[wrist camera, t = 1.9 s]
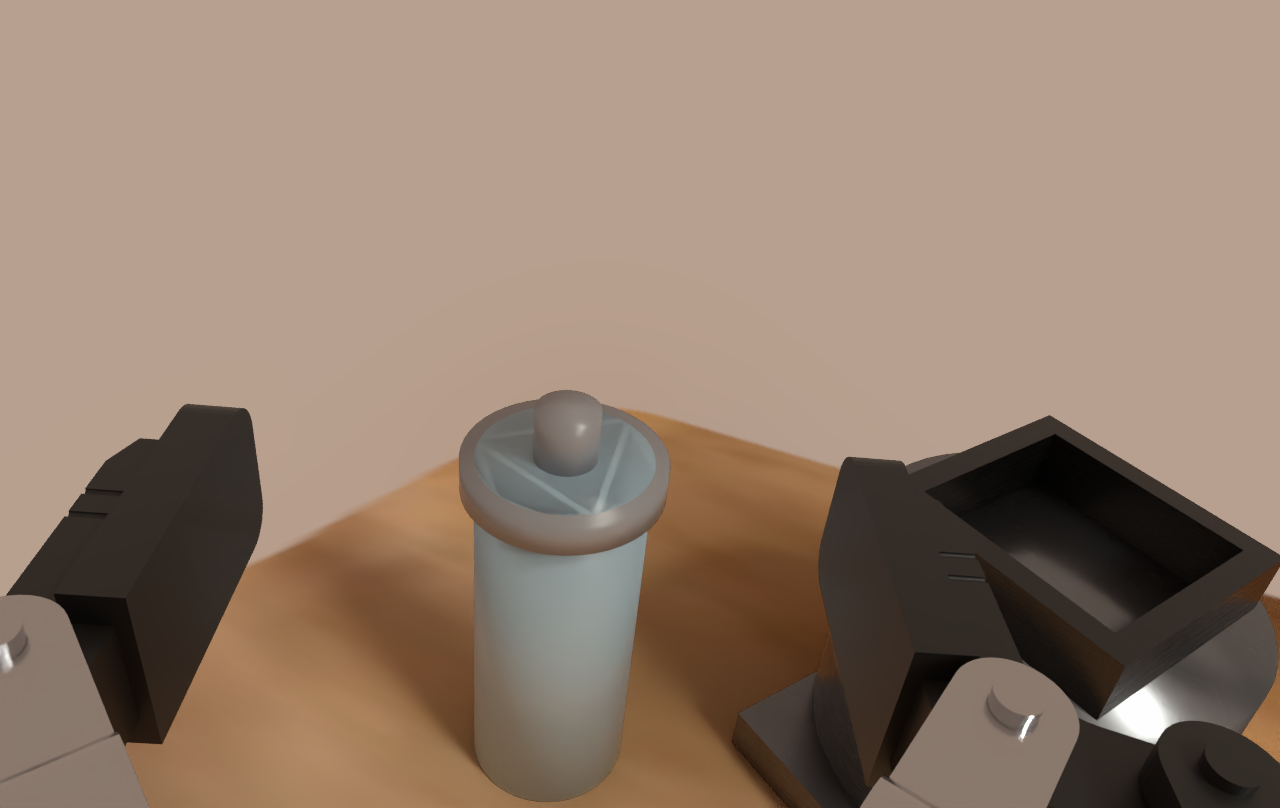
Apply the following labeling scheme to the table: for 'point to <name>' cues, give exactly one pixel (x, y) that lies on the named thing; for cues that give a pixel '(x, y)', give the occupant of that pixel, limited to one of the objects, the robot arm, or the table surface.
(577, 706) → the grey lidded canister
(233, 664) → the table surface
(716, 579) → the table surface
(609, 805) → the table surface
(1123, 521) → the dark grey holder
